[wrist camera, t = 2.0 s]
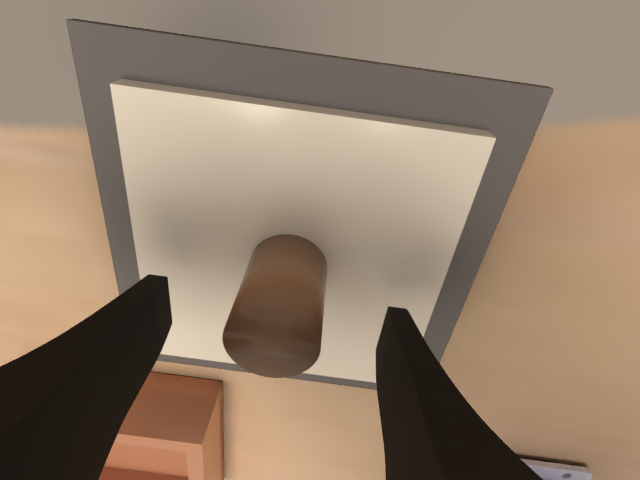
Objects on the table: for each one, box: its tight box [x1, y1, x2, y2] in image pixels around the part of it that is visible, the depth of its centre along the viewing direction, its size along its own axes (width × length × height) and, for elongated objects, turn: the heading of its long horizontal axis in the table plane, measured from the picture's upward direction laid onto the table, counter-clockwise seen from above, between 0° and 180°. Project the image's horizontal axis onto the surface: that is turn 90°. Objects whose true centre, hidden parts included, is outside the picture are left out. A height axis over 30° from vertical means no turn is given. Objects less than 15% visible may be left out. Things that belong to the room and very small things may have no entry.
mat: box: [66, 19, 554, 390], centre depth 16 cm, size 15×15×1 cm
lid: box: [110, 79, 496, 383], centre depth 14 cm, size 12×12×5 cm
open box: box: [99, 372, 224, 480], centre depth 22 cm, size 10×10×4 cm
